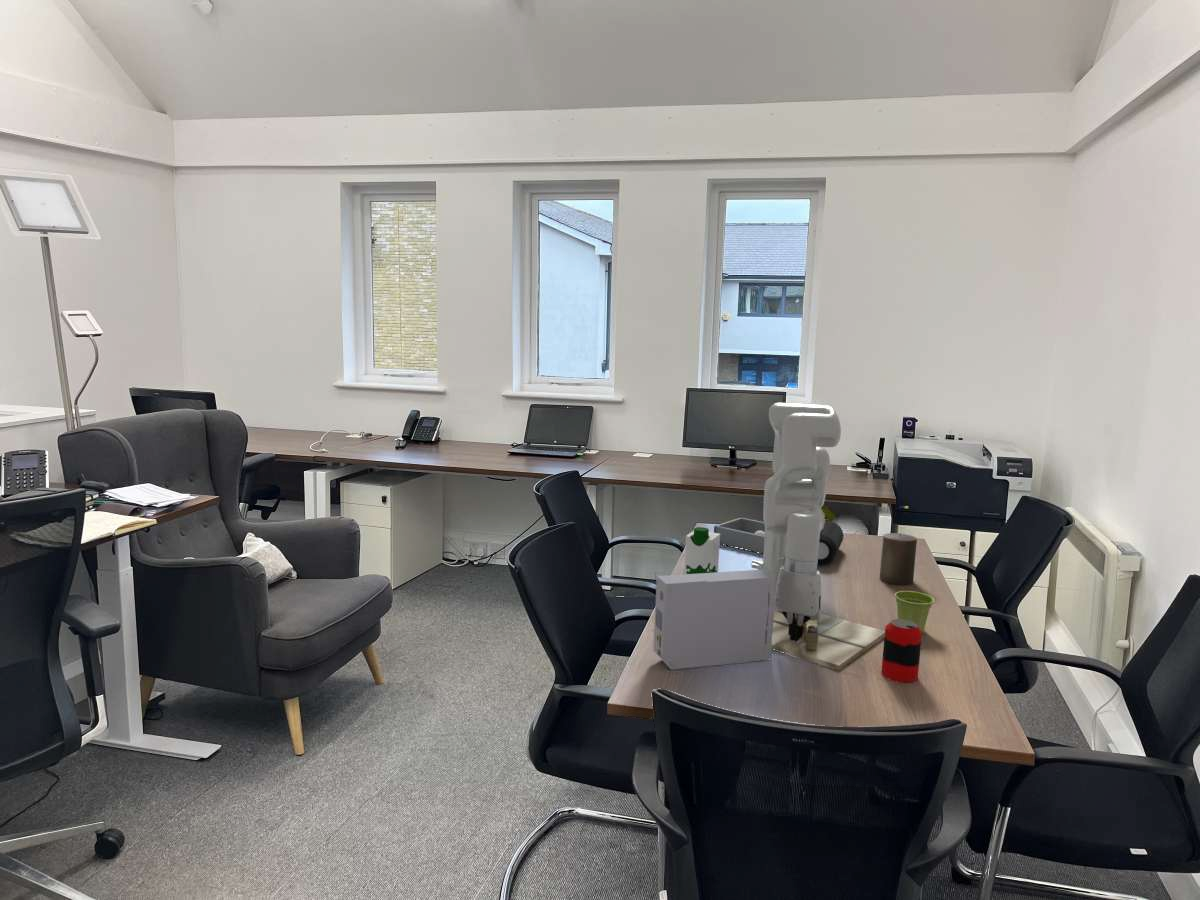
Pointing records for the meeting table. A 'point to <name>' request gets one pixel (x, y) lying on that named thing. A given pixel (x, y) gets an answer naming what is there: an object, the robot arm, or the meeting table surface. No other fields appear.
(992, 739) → the meeting table surface
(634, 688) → the meeting table surface
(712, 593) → the game console
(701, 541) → the milk carton
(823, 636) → the lock board
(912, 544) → the pillar candle
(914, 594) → the plant pot
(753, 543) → the organiser frame
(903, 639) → the soda can
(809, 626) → the swing bar
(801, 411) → the robot arm
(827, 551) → the portable speaker
